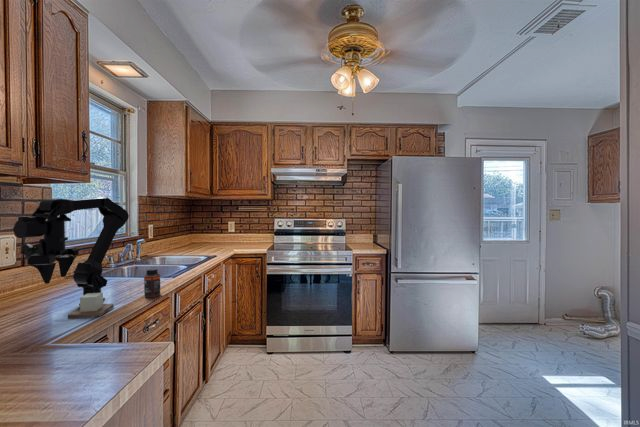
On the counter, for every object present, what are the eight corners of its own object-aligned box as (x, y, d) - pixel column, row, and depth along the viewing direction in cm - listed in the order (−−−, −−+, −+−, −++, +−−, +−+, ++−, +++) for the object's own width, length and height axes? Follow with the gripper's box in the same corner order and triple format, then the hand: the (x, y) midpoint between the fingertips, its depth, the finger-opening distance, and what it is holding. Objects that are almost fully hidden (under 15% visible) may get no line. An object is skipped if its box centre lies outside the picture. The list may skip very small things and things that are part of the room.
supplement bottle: (163, 293, 136) (162, 267, 135) (156, 298, 130) (156, 270, 129) (148, 293, 136) (148, 267, 135) (141, 298, 130) (141, 270, 129)
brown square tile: (83, 308, 117) (83, 305, 117) (113, 306, 119) (113, 303, 119) (67, 318, 107) (67, 314, 107) (101, 316, 109) (101, 313, 109)
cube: (87, 307, 115) (87, 293, 115) (103, 306, 116) (102, 292, 116) (80, 311, 110) (79, 297, 110) (96, 310, 111) (96, 296, 111)
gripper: (44, 232, 117) (45, 274, 118) (6, 238, 99) (7, 288, 99) (78, 232, 119) (79, 273, 120) (47, 238, 101) (49, 286, 102)
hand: (55, 280), depth 110 cm, fingers open, 9 cm apart
